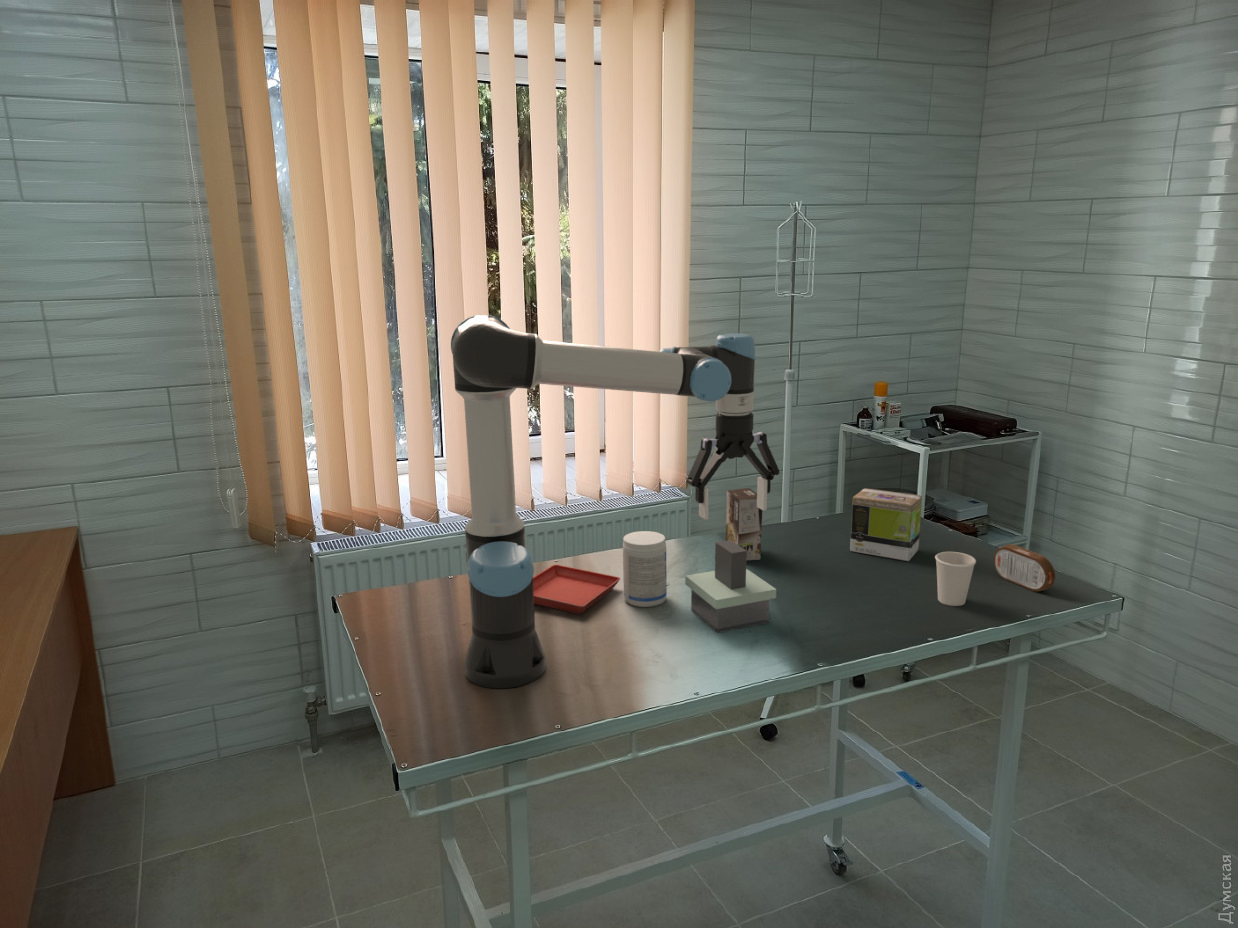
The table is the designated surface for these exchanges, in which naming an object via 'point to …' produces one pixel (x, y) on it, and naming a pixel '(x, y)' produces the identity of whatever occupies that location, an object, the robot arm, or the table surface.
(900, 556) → the tea box
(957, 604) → the dixie cup
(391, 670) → the table surface
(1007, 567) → the tin
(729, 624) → the instrument box
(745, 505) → the coffee box
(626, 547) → the supplement tub
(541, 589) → the plant saucer
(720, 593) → the lid
